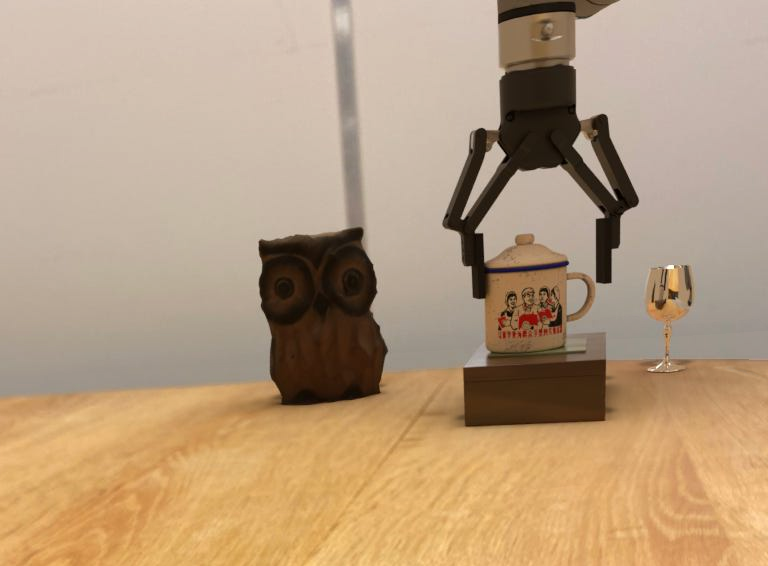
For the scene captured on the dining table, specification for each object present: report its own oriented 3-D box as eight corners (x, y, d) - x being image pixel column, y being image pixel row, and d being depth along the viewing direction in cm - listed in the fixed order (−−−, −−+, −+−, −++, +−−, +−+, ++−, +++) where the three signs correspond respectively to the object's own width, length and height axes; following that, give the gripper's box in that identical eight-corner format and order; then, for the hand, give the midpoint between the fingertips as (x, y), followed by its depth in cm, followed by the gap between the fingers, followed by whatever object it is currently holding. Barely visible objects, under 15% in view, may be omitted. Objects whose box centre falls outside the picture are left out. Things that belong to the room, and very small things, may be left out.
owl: (394, 391, 136) (384, 224, 129) (327, 409, 128) (313, 232, 120) (321, 387, 144) (309, 230, 137) (255, 404, 136) (237, 239, 129)
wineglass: (688, 364, 133) (692, 263, 129) (693, 371, 128) (698, 266, 124) (640, 367, 135) (643, 267, 130) (643, 374, 130) (646, 271, 125)
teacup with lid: (492, 356, 112) (489, 239, 108) (476, 347, 120) (473, 237, 116) (606, 345, 112) (608, 227, 107) (582, 336, 120) (583, 226, 116)
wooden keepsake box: (485, 390, 130) (484, 338, 128) (604, 383, 126) (605, 330, 124) (464, 426, 110) (462, 365, 108) (605, 420, 107) (606, 357, 104)
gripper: (421, 77, 102) (434, 306, 110) (674, 48, 103) (669, 278, 111) (407, 87, 109) (420, 302, 117) (644, 60, 110) (641, 275, 118)
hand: (541, 291), depth 114 cm, fingers open, 13 cm apart
